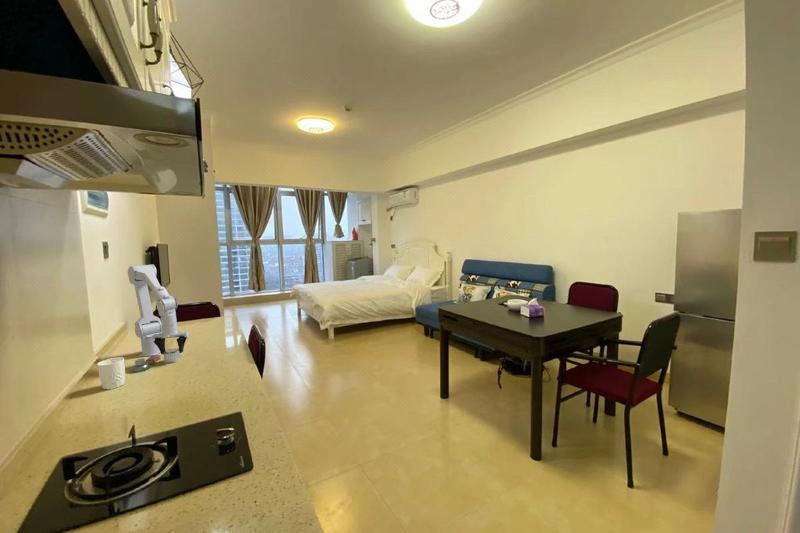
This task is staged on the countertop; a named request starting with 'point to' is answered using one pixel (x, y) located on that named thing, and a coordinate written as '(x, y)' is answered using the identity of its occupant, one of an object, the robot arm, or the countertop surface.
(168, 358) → the socket
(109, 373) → the white cup
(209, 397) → the countertop surface
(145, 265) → the robot arm
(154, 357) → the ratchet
